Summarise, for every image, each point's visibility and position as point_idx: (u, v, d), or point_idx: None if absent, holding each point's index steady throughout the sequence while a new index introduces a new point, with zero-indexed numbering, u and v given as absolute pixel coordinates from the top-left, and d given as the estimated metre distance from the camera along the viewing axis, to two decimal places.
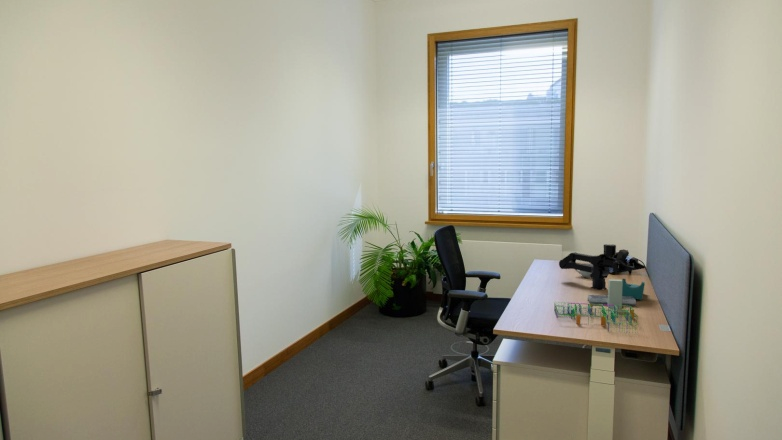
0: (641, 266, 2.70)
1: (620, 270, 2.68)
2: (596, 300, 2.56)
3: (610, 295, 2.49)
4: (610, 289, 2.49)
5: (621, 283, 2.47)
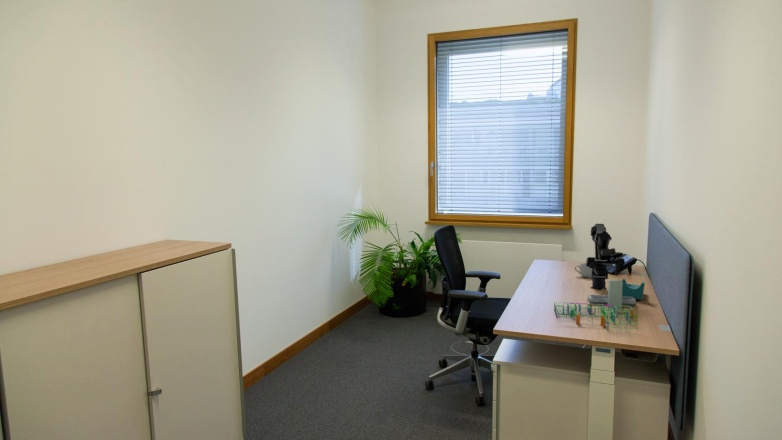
0: (615, 272, 2.61)
1: (590, 266, 2.68)
2: (596, 300, 2.56)
3: (610, 295, 2.49)
4: (610, 289, 2.49)
5: (621, 283, 2.47)
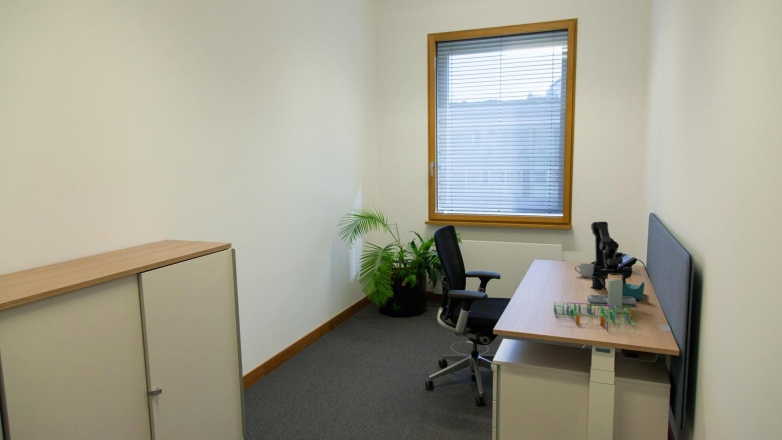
0: None
1: (596, 276, 2.59)
2: (596, 300, 2.56)
3: (610, 295, 2.49)
4: (610, 289, 2.49)
5: (621, 283, 2.47)
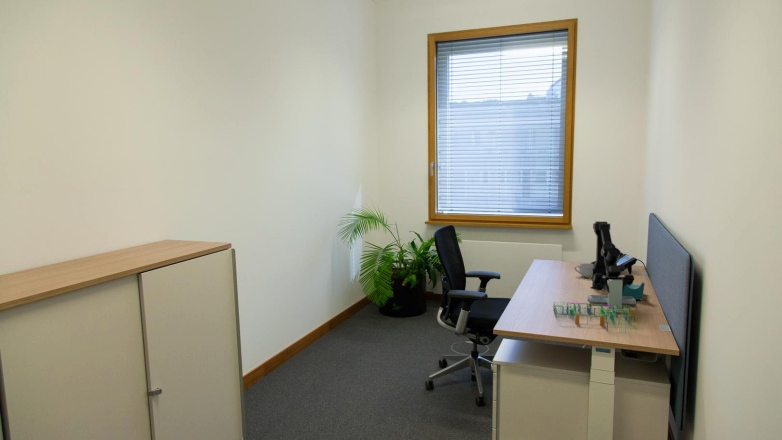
0: None
1: (601, 283, 2.55)
2: (596, 300, 2.56)
3: (610, 295, 2.49)
4: (610, 289, 2.49)
5: (621, 283, 2.47)
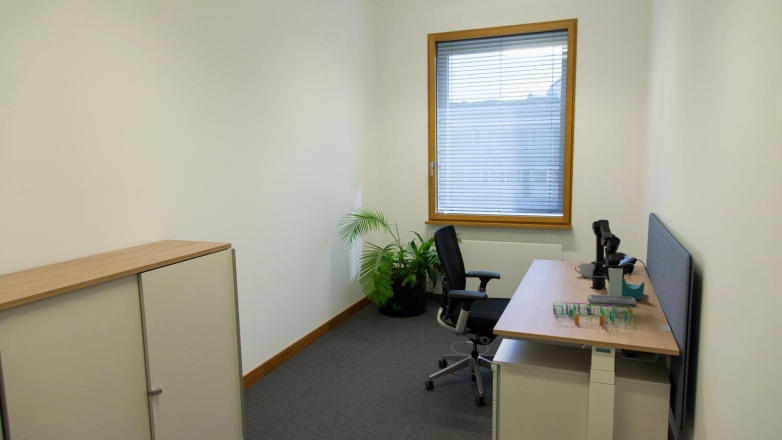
0: None
1: (601, 272, 2.55)
2: (596, 300, 2.56)
3: (610, 284, 2.50)
4: (610, 278, 2.49)
5: (621, 272, 2.48)
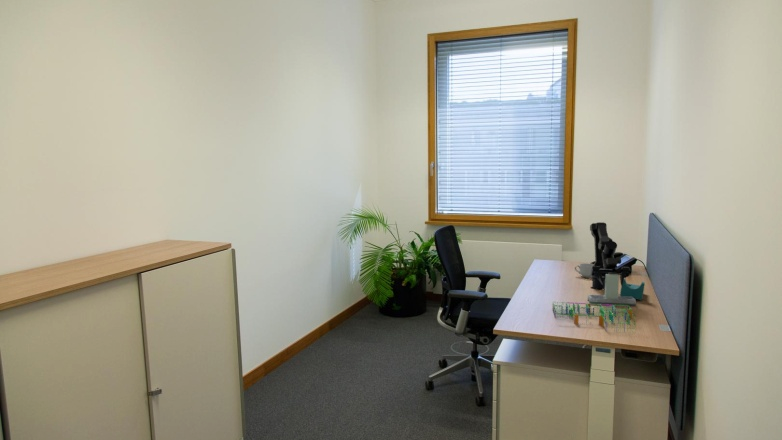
0: (621, 281, 2.56)
1: (595, 275, 2.62)
2: (596, 300, 2.56)
3: (607, 289, 2.56)
4: (607, 283, 2.56)
5: (617, 277, 2.55)
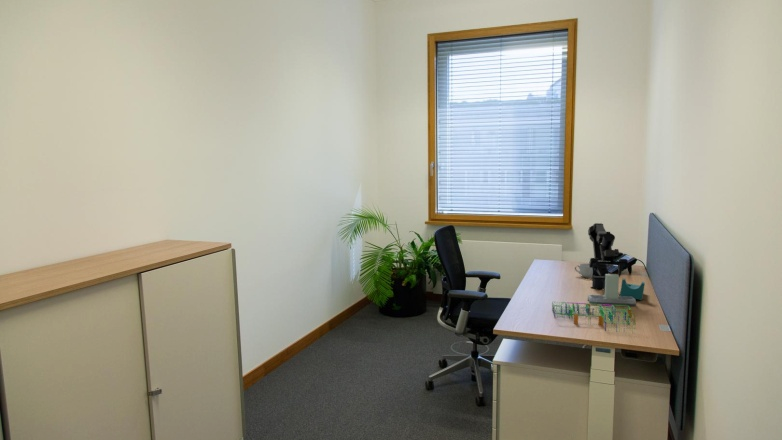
0: (618, 273, 2.60)
1: (593, 267, 2.67)
2: (596, 300, 2.56)
3: (607, 289, 2.56)
4: (607, 283, 2.56)
5: (617, 277, 2.55)
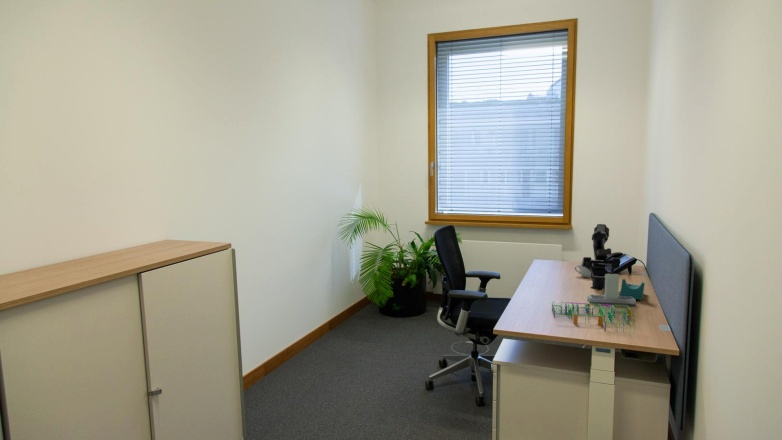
0: (611, 272, 2.63)
1: (586, 266, 2.69)
2: (596, 300, 2.56)
3: (607, 289, 2.56)
4: (607, 283, 2.56)
5: (617, 277, 2.55)
